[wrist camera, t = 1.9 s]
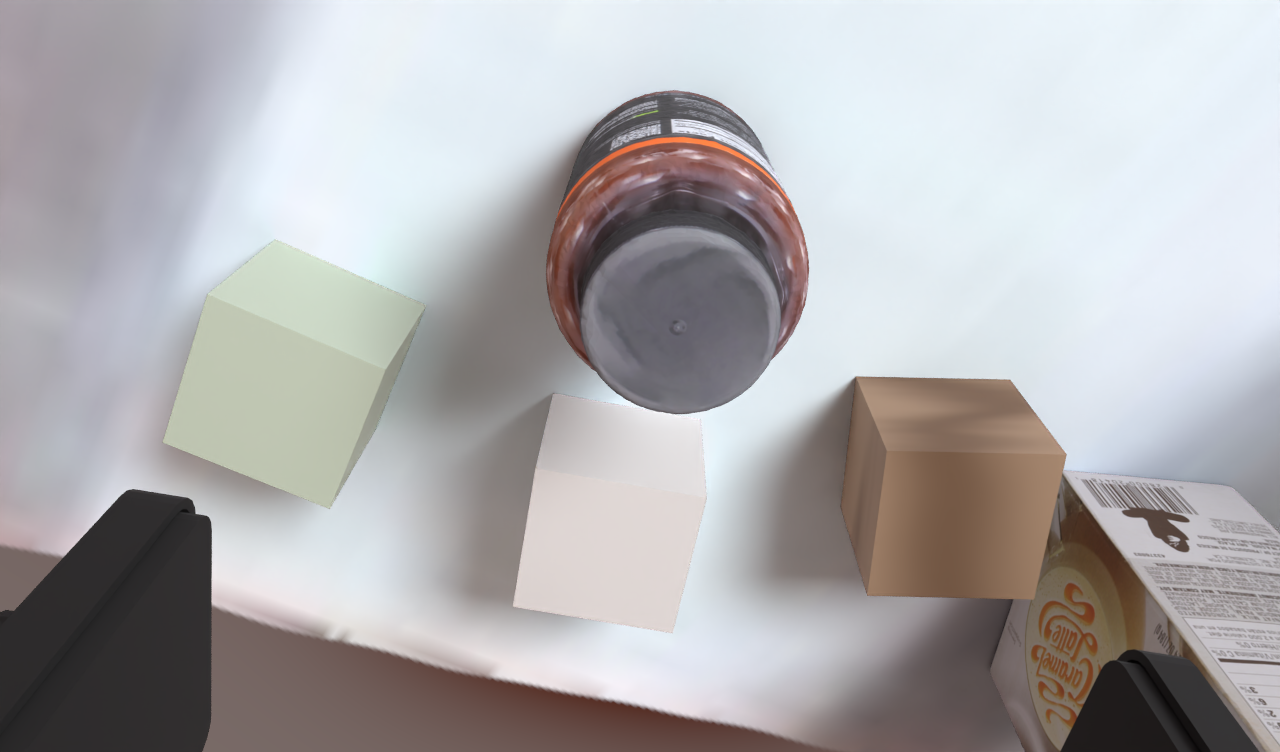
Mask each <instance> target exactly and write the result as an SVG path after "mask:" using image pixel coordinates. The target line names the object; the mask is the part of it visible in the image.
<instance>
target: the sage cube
mask: <svg viewBox="0 0 1280 752" xmlns="http://www.w3.org/2000/svg"><path fill="white" fill-rule="evenodd" d="M425 307H426V305H424V304H422V303H420V302H417V301H415V300H413V299H411V298H408V297H406V296H404V295H401V294H399V293H397V292H395V291H392V290H390V289H388V288H386V287H383V286H381V285H379V284H376V283H374V282H372V281H370V280H367V279H365V278H363V277H360V276H358V275H356V274H354V273H351V272H349V271H347V270H344V269H342V268H340V267H338V266H335V265H333V264H331V263H328V262H326V261H324V260H322V259H319V258H317V257H315V256H312V255H310V254H308V253H306V252H303V251H301V250H299V249H296V248H294V247H292V246H290V245H287V244H285V243H283V242H280V241H278V240H276V239H275V240H274V241H273V242H271V243H270V244H269V245H268V246H266V247H265V248H264V249H263V250H261V251H260V252H259V253H258V254H256V255H255V256H254V257H253V258H252V259H250V260H249V261H248V262H247V263H245V264H244V265H243V266H242V267H240V268H239V269H238V270H237V271H235V272H234V273H233V274H232V275H230V276H229V277H228V278H227V279H226V280H224V281H223V282H222V283H221V284H219V285H218V286H217V287H216V288H214V289H213V290H212V291H211V292H209V293H208V294H207V297H206V300H205V304H204V307H203V310H202V314H201V317H200V320H199V324H198V327H197V330H196V333H195V337H194V340H193V343H192V347H191V350H190V353H189V357H188V360H187V363H186V367H185V370H184V373H183V376H182V380H181V383H180V386H179V390H178V393H177V396H176V400H175V403H174V406H173V410H172V413H171V416H170V419H169V423H168V426H167V429H166V433H165V436H164V439H163V443H165V444H167V445H170V446H172V447H175V448H177V449H180V450H182V451H185V452H187V453H190V454H192V455H195V456H197V457H200V458H202V459H205V460H208V461H210V462H213V463H215V464H218V465H220V466H223V467H225V468H228V469H230V470H233V471H235V472H238V473H240V474H243V475H245V476H248V477H250V478H253V479H255V480H258V481H261V482H263V483H266V484H268V485H271V486H273V487H276V488H278V489H281V490H283V491H286V492H288V493H291V494H293V495H296V496H298V497H301V498H303V499H306V500H308V501H311V502H313V503H316V504H319V505H321V506H324V507H326V508H329V509H330V508H331V506H332V504H333V503H334V501H335V499H336V497H337V496H338V494H339V492H340V490H341V489H342V487H343V485H344V483H345V482H346V480H347V478H348V477H349V475H350V473H351V471H352V470H353V468H354V466H355V464H356V463H357V461H358V459H359V457H360V456H361V454H362V452H363V451H364V449H365V447H366V445H367V444H368V442H369V440H370V438H371V437H372V435H373V433H374V431H375V430H376V427H377V425H378V422H379V420H380V418H381V415H382V413H383V410H384V408H385V405H386V403H387V400H388V398H389V395H390V393H391V391H392V388H393V386H394V383H395V381H396V378H397V376H398V373H399V371H400V369H401V366H402V364H403V361H404V359H405V356H406V354H407V351H408V349H409V347H410V344H411V342H412V339H413V337H414V334H415V332H416V329H417V327H418V325H419V322H420V320H421V317H422V315H423V312H424V310H425Z"/></svg>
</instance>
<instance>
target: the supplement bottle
mask: <svg viewBox="0 0 1280 752" xmlns="http://www.w3.org/2000/svg"><path fill="white" fill-rule="evenodd" d="M808 264H809V260H808V252H807V247H806V243H805V238H804V234H803V231H802V228H801V225H800V223H799V220H798V217H797V215H796V213H795V211H794V209H793V206H792V204H791V201H790V200H789V198H788V196H787V194H786V192H785V190H784V188H783V186H782V184H781V182H780V180H779V178H778V176H777V174H776V172H775V170H774V168H773V166H772V164H771V162H770V160H769V158H768V156H767V154H766V152H765V150H764V149H763V147H762V145H761V143H760V141H759V139H758V138H757V137H756V135H755V134H754V132H753V130H752V129H751V128H750V127H749V126H748V125H747V124H746V123H745V121H744V120H743V119H742V118H740V117H739V116H738V115H737V114H735V113H734V112H733V111H732V110H731V109H729V108H727V107H726V106H724V105H723V104H722V103H720V102H718V101H716V100H713V99H711V98H708V97H706V96H702V95H699V94H694V93H691V92H683V91H677V90H673V91H664V92H655V93H650V94H645V95H643V96H640V97H637V98H634V99H632V100H630V101H627V102H626V103H624V104H622V105H621V106H619V107H618V108H616V109H615V110H613V111H612V112H610V113H609V114H608V115H607V116H606V117H605V118H604V119H602V120H601V121H600V122H599V123H598V124H597V125H596V127H595V128H594V129H593V131H592V132H591V133H590V134H589V136H588V137H587V139H586V141H585V142H584V144H583V146H582V148H581V150H580V152H579V154H578V157H577V160H576V162H575V165H574V167H573V171H572V174H571V177H570V180H569V183H568V186H567V189H566V192H565V194H564V198H563V200H562V203H561V206H560V208H559V212H558V216H557V218H556V221H555V226H554V230H553V233H552V236H551V240H550V245H549V249H548V254H547V264H546V280H547V290H548V296H549V300H550V305H551V308H552V311H553V314H554V316H555V319H556V321H557V324H558V326H559V329H560V330H561V332H562V334H563V335H564V337H565V338H566V340H567V342H568V343H569V344H570V346H571V347H572V348H573V350H574V351H575V352H576V354H577V355H578V356H579V357H580V358H581V359H582V360H583V361H584V362H585V363H586V364H587V365H588V366H590V368H591V369H593V370H595V371H596V372H597V373H598V375H599V376H600V377H601V379H602V380H603V381H604V382H605V383H606V384H607V385H608V386H609V387H610V388H611V389H612V390H614V391H615V392H616V393H617V394H619V395H621V396H622V397H623V398H625V399H626V400H628V401H631V402H632V403H634V404H636V405H638V406H641V407H644V408H646V409H650V410H653V411H656V412H664V413H670V414H689V413H695V412H702V411H707V410H710V409H712V408H715V407H718V406H721V405H723V404H725V403H728V402H730V401H731V400H733V399H734V398H736V397H738V396H739V395H741V394H742V393H743V392H745V391H746V390H747V389H748V388H750V387H751V386H752V385H753V384H754V383H755V381H756V380H757V379H758V378H759V377H760V375H761V374H762V373H763V372H764V370H765V369H766V368H767V366H768V365H769V363H770V361H771V360H772V359H773V358H774V357H775V356H776V355H777V354H778V352H779V351H780V350H781V349H782V348H783V347H784V345H785V344H786V343H787V341H788V339H789V338H790V336H791V335H792V334H793V332H794V329H795V327H796V325H797V324H798V322H799V320H800V317H801V314H802V311H803V308H804V306H805V301H806V296H807V291H808V275H809V265H808Z"/></svg>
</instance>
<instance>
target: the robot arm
mask: <svg viewBox="0 0 1280 752" xmlns="http://www.w3.org/2000/svg"><path fill="white" fill-rule="evenodd" d="M211 576H212V528H211V521H210V519H209V517H207V516H204V515H198V514H195V506H194V504H193V501H192V500H190V499H189V498H185V497H179V496H173V495H166V494H160V493H154V492H148V491H141V490H135V489H132V490H127V491H126V492H125V493H123V494H122V495H121V496H120V497H119V498H118V499H117V500H116V501H115V502H114V503H113V505H112V506H111V507H110V508H109V509H108V510H107V511H106V512H105V513H104V514H103V515H102V516H101V518H100V519H99V520H98V521H97V522H96V523H95V524H94V525H93V526H92V527H91V528H90V529H89V531H88V532H87V533H86V534H85V535H84V536H83V537H82V538H81V539H80V540H79V541H78V542H77V544H76V545H75V546H74V547H73V548H72V549H71V550H70V551H69V552H68V553H67V554H66V555H65V557H64V558H63V559H62V560H61V561H60V562H59V563H58V564H57V565H56V566H55V567H54V568H53V570H52V571H51V572H50V573H49V574H48V575H47V576H46V577H45V578H44V579H43V581H41V582H40V584H39V585H38V586H37V587H36V588H35V589H34V590H33V591H32V592H31V593H30V594H29V595H28V597H27V598H26V599H25V600H24V601H23V602H22V603H21V604H20V605H19V606H18V607H17V608H16V610H15V611H9V610H5V611H2V612H0V752H202V751H203V748H204V745H205V742H206V740H207V736H208V732H209V728H210V722H211ZM1060 752H1259V750H1258V749H1257V748H1256V746H1255V745H1254V744H1253V742H1252V741H1251V739H1250V738H1249V737H1248V735H1247V734H1246V733H1245V731H1244V730H1243V729H1242V727H1241V726H1240V725H1239V723H1238V722H1237V721H1236V719H1235V718H1234V716H1233V715H1232V714H1231V712H1230V711H1229V710H1228V708H1227V707H1226V706H1225V704H1224V703H1223V702H1222V700H1221V699H1220V697H1219V696H1218V695H1217V693H1216V692H1215V691H1214V689H1213V688H1212V687H1211V685H1210V684H1209V683H1208V681H1207V680H1206V678H1205V677H1204V676H1203V674H1202V673H1201V672H1200V670H1199V669H1198V668H1197V667H1196V666H1195V665H1194V664H1193V663H1192V662H1191V661H1190V660H1189V659H1186V658H1184V657H1180V656H1174V655H1168V654H1161V653H1155V652H1149V651H1143V650H1136V649H1132V650H1127V651H1125V652H1124V653H1122V654H1121V655H1120V656H1119V658H1118V659H1117V660H1112V661H1109V662H1107V663H1106V664H1105V665H1104V666H1103V667H1102V669H1101V670H1100V672H1099V674H1098V676H1097V678H1096V680H1095V682H1094V684H1093V686H1092V689H1091V691H1090V693H1089V695H1088V697H1087V699H1086V701H1085V703H1084V705H1083V707H1082V709H1081V711H1080V713H1079V715H1078V717H1077V719H1076V721H1075V723H1074V725H1073V727H1072V729H1071V731H1070V733H1069V735H1068V737H1067V739H1066V741H1065V743H1064V745H1063V747H1062V749H1061V751H1060Z"/></svg>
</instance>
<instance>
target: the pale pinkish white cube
mask: <svg viewBox="0 0 1280 752" xmlns="http://www.w3.org/2000/svg"><path fill="white" fill-rule="evenodd" d="M706 499H707V493H706V480H705V466H704V452H703V439H702V425H701V419H696V418H691V417H685V416H679V415H674V414H668V413H663V412H656V411H651V410H646V409H640V408H634V407H629V406H623V405H618V404H612V403H606V402H601V401H595V400H590V399H584V398H578V397H573V396H567V395H562V394H556V393H553V396H552V401H551V405H550V409H549V413H548V417H547V422H546V426H545V430H544V434H543V438H542V443H541V447H540V451H539V455H538V459H537V464H536V468H535V474H534V480H533V486H532V492H531V498H530V504H529V510H528V516H527V523H526V529H525V535H524V541H523V547H522V553H521V559H520V565H519V571H518V578H517V584H516V590H515V596H514V602H513V607H517V608H523V609H529V610H535V611H541V612H547V613H553V614H559V615H566V616H572V617H578V618H584V619H590V620H596V621H602V622H608V623H614V624H620V625H626V626H632V627H638V628H644V629H650V630H656V631H663V632H669V633H673V629H674V625H675V621H676V617H677V613H678V609H679V606H680V602H681V598H682V594H683V590H684V586H685V582H686V578H687V574H688V570H689V566H690V562H691V558H692V554H693V550H694V546H695V543H696V539H697V535H698V531H699V527H700V523H701V519H702V515H703V511H704V507H705V503H706Z"/></svg>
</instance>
